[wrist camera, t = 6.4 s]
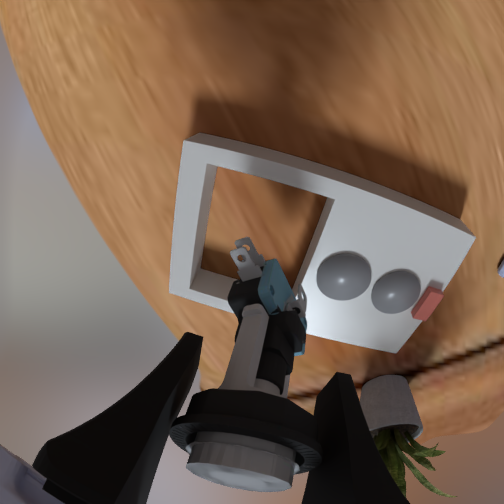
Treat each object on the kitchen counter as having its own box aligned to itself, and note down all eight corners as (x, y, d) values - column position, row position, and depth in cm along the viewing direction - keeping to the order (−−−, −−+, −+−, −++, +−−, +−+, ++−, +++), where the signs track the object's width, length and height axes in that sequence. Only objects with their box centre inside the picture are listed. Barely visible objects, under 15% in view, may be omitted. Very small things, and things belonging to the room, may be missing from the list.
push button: (200, 248, 15) (99, 419, 7) (297, 214, 13) (260, 435, 5) (255, 336, 18) (213, 490, 9) (339, 317, 16) (335, 495, 7)
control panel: (460, 219, 16) (480, 242, 13) (391, 331, 22) (397, 359, 20) (199, 132, 17) (179, 142, 14) (181, 272, 23) (165, 297, 20)
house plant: (283, 395, 30) (257, 532, 16) (368, 326, 22) (376, 529, 9) (373, 423, 31) (370, 535, 18) (457, 370, 24) (481, 506, 10)
